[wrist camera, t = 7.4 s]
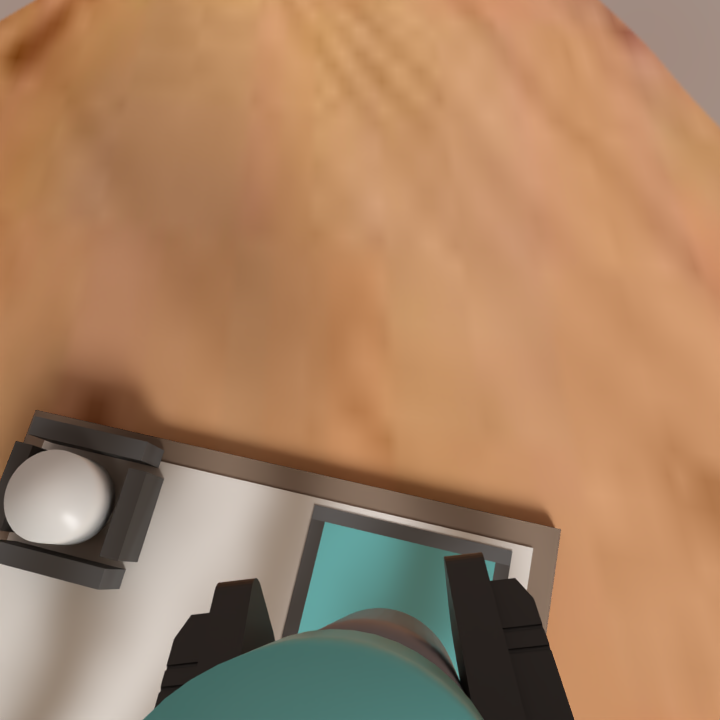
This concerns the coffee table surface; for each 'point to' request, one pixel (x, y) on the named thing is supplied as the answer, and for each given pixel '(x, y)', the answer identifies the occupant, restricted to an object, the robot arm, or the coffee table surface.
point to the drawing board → (219, 565)
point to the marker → (332, 677)
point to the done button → (59, 498)
